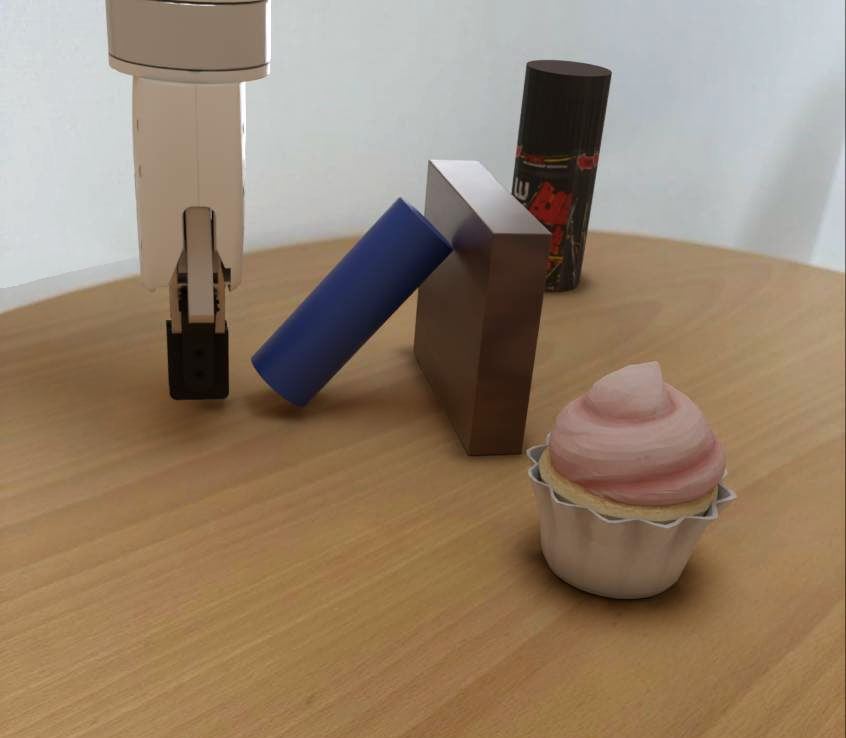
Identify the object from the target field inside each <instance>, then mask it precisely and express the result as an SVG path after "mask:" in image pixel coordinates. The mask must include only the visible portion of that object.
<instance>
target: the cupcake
mask: <svg viewBox="0 0 846 738" xmlns="http://www.w3.org/2000/svg"><path fill="white" fill-rule="evenodd" d="M709 425H710V424H709V422H708V420H707V419H706V417H705V415H704V413H703V411H702V409H701V408H699V406H698V405H697V404H696V403H695V402H694V401H693V400H692V399H691V398H690V397H688V396H687V395H685V394H684V393H683V392H681V391H679V390H678V389H677V388H675V387H673V386H672V385H671V384H669V383H667V382H666V381H664V376H663V373H662V369H661V366H660V364H659V361H658V360H657V361H656V360H654V361H649V362H643V363H638V364H632V363H631V364H628V365H626V366H624V367H621V368H619V369H617V370H615V371H613V372H610V373H608V374H606V375H605V376H603V377H601V378H599V379H598V380H597V381H595V382H594V383H593V384H592V386H591V387H590V389H589V391H587V393H585V394H583V395H581V396H579V397H577V398H575V399H574V400H572V401H570V402H569V403H567V404H566V405H565V406H564V407H563V408H562V409H561V411H560V412H559V413H558V414H557V416H556V418H555V420H554V423H553V426H552V429H551V431H550V432H549V433H548V434H547V435H546V439H545V440H546V443H545V444H539V445H534V446H532V447H530V448H528V449H526V456H527V459H528V462H529V465H530V467H529V468H528V469H527V472H528V477H529V481H530V484H531V488H532V491H533V494H534V497H535V500H536V503H537V507H538V523H539V533H540V543H541V544H540V545H541V551H542V553H543V556H544V558H545V560H546V563H547V565H548V567H549V568H550V570H551V571H552V572H553V574H554V575H556V576H557V577H559V578H560V580H563V581H564V582H566V583H567V584H569V585H571V586H573V587H574V588H576V589H578V590H580V591H583V592H586V593H588V594H589V593H590V594H593V595H596V596H600V597H605V598H610V599H615V600H616V599H618V600H619V599H620V600H635V599H643V598H650V597H653V596H656V595H659V594H661V593H663V592H665V591H667V590H668V589H669V588H671V587H672V586H673V585H675V583H677V582H678V580H679V578H680V576H682V573H683V571H684V570H685V568H686V565H687V563H688V561H689V560H690V558H691V556H692V554H693V552H694V551H695V549H696V547H697V546H698V544H699V542H700V540H701V539H702V537H703V535H704V534H705V532H706V530H707V529H708V528H709V527H710V526H711V525H712V524H713V523H714V522H715V521H716V520H717V518H718V517H719V516H720V515H721V514H722V513H723V512H724V511H725V510H726V509H727V507H729V506H730V505H731V504H732V503H733V502H734V501H735V500H736V499H737V498H738V496H737V494H736V493H735V491H733V490H732V489H731V488H730V487H728V486H727V485H726V484H725V483H723V482H724V480H725V479H726V477H727V475H728V474H729V473H728V470H729V469H727V468H726V464H727V463H726V462H727V459H726V451H725V447H724V445H723V443H722V441H721V439H720V438H719V436H718V435H717V433H716V432H715V431H714V430H713V429H712V428H711V427H710V426H709Z"/></svg>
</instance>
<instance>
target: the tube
mask: <svg viewBox="0 0 846 738" xmlns="http://www.w3.org/2000/svg"><path fill="white" fill-rule="evenodd" d="M453 250H454V249H453V247H452V246H451V245H450V243H449V242H448V241H447V240H446V239H445V238H444V237H443V235H442V234H441V233H440V232H439V231H438V230H437V229H436V228H435V227H434V226H433V225H432V224H431V223H430V222H429V221H428V220H427V219H426V218H425V217H424V214H423V213H421V212H420V211H419V210H418V209H417V208H416V207H415V206H414V205H412V203H411V202H410V201H408V200H407V199H406V198H405V197H403V196H402V195H400V196H399V197H398V198H396V199H395V201H393V203H392V204H391V205H390V206H389V207H388V209H387V210H385V212H384V213H383V214H381V216H380V217H379V218H378V219H377V220H376V221H375V223H374V224H373V225H372V226H370V228H369V229H368V230H367V231H366V232H365V234H363V235H362V237H360V239H359V240H358V241H357V242H356V243H355V244H354V246H352V247H351V248H350V250H349V251H348V252H347V253H346V254H345V255H344V256H343V257H342V258H341V260H340V261H339V262H337V264H336V265H335V266H334V267H333V268H332V269H331V270H330V271H329V272H328V273H327V275H325V276H324V278H323V279H322V280H321V281H320V282H319V283H318V284H317V285H316V286H315V288H314V289H313V290H312V291H311V292H310V293H309V294H308V295H307V296H306V297H305V298H304V300H303V301H301V303H300V304H299V305H298V306H297V307H296V308H295V309H294V310H293V311H292V312H291V314H290V315H289V316H288V317H287V318H286V319H285V320H284V321H283V322H282V323H281V325H280V326H279V327H278V328H276V330H275V331H274V332H273V333H272V334H271V335H270V336H269V337H268V338H267V340H266V341H265V342H264V343H263V344H262V345H261V346H260V347H259V348H258V350H256V351H255V352H254V354H253V355H252V356H251V358H250V362H251V364H252V367H253V368H254V370H255V371H256V373H257V374H258V375H259V376H260V378H261V379H262V380H263V381H264V382H265V383H266V384H267V385H268V386H269V388H271V389H272V390H273V391H274V392H275V393H276V394H277V395H279V396H280V397H281V398H283V399H284V400H285V401H286V402H288V403H289V404H291V405H293V406H295V407H297V408H301V409H303V408H305V407H306V406H307V405H308V404H309V403H310V402H311V401H312V400H313V399H314V398H315V397H316V396H317V395H318V394H319V393H320V391H322V389H324V387H325V386H327V384H328V383H329V382H330V381H331V380H332V379H333V378H334V377H335V376H336V375H337V374H338V373H339V371H341V370H342V369H343V367H344V366H346V365H347V363H348V362H349V361H350V360H351V359H353V357H354V356H355V355H356V354H357V353H358V351H360V350H361V348H363V346H364V345H365V344H367V342H369V340H370V339H371V338H372V337H373V336H374V335H375V334H376V333H377V331H379V330H380V329H381V328H382V326H383V325H385V323H386V322H387V321H388V320H389V319H390V318H391V317H392V316H393V315H394V314H395V313H396V312H397V311H398V310H399V308H401V306H402V305H403V304H405V302H406V301H407V300H408V299H409V298H410V297H411V296H412V295H413V294H414V293H415V292H416V291H417V290H418V287H419V286H420V285H421V284H422V283H423V282H424V281H425V280H426V279H427V278H428V277H429V276H430V275H431V274H432V273H433V272H434V270H435V269H436V268H437V267H438V266H439V265H440V264H441V263H442V262H443V261H444V260H445V259H446V258H447V257H448V256H449V255H450V254H451V253H452V252H453Z"/></svg>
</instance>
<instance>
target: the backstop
mask: <svg viewBox="0 0 846 738" xmlns="http://www.w3.org/2000/svg"><path fill="white" fill-rule="evenodd" d="M426 173H427V174H426V186H425V198H424V199H425V200H424V209H423V210H424V211H423V216H424V217H425V218H426V219H427V220H428V221H429V222H430V223H431V224H432V225H433V226H434V227H435V228H436V229H437V230H438V231H439V232H440V233H441V234H442V235H443V237H444V238H445V239H446V240H447V241H448V242H449V243H450V245H451V246H452V247H453V249H454V250H453V252H452V253H451V254H450V255H449V256H448V257H447V258H446V259H445V260H444V261H443V262H442V263H441V264H440V265H439V266H438V267H437V268H436V269H435V270H434V272H433V273H432V274H431V275H430V276H429V277H428V278H427V279H426V280H425V281H424V282H423V283H422V284H421V285H420V286H419V287H418V288H417V299H416V309H415V312H416V313H415V322H414V323H415V324H414V325H415V326H414V337H413V347H412V348H413V349H412V353H413V355H414V357H415V358H416V360H417V362H418V364H419V366H420V368H421V370H422V371H423V374H424V376H425V377H426V379H427V381H428V383H429V384H430V386H431V388H432V390H433V392H434V394H435V396H436V397H437V399H438V401H439V403H440V404H441V407H442V408H443V410H444V413H445V414H446V415H447V417H448V419H449V421H450V423H451V425H452V426H453V428H454V431H455V432H456V434H457V436H458V438H459V440H460V441H461V443H462V445H463V447H464V449H465V450H466V453H467V454H468V456H478V455H479V456H486V455H487V456H488V455H513V454H514V455H515V454H518V455H519V454H522V453H523V449H524V448H523V447H524V439H525V433H526V427H527V417H528V412H529V411H528V410H529V404H530V397H531V389H532V381H533V376H534V370H535V369H534V368H535V361H536V354H537V346H538V340H539V334H540V333H539V332H540V327H541V317H542V310H543V303H544V298H545V297H544V296H545V291H544V290H545V283H546V276H547V268H548V261H549V254H550V247H551V240H552V234H551V233H550V232H549V231H548V230H547V229H546V228H545V227H544V226H543V225H542V224H541V223H540V222H539V221H538V220H537V219H536V218H535V217H534V216H533V215H532V214H531V213H530V212H529V211H528V210H527V209H526V208H525V207H524V206H523V205H522V204H521V203H520V202H519V201H518V200H517V199H516V198H515V197H514V196H513V195H512V194H511V192H510V191H509V190H508V189H507V188H506V187H505V186H504V185H503V184H502V183H501V182H500V181H499V180H498V179H497V178H496V177H495V176H494V175H493V174H492V173H491V172H489V170H488V169H487V168H485V166H484V165H483V164H482V163H480V161H478V160H466V159H465V160H463V159H428V161H427V172H426Z"/></svg>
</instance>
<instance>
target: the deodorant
mask: <svg viewBox="0 0 846 738" xmlns="http://www.w3.org/2000/svg"><path fill="white" fill-rule="evenodd" d="M612 75H613V72H612V70H611V69H609V68H607V67H603V66H601V65H597V64H591V63H587V62H586V63H585V62H580V61H573V60H560V59H536V60H530V61H528V62H526V65H525V72H524V81H523V89H522V90H523V91H522V98H521V108H520V115H519V124H518V131H517V140H516V149H515V150H516V151H515V158H514V165H513V166H514V167H513V174H512V175H513V176H512V184H511V192H510V193H511V194H512V195H513V196H514V197H515V198H516V199H517V200H518V201H519V202H520V203H521V204H522V205H523V206H524V207H525V208H526V209H527V210H528V211H529V212H530V213H531V214H532V215H533V216H534V217H535V218H536V219H537V220H538V221H539V222H540V223H541V224H542V225H543V226H544V227H545V228H546V229H547V230H548V231H549V232H550V233H551V234H552V240H551V247H550V254H549V261H548V268H547V276H546V283H545V290H544V292H549V293H550V292H551V293H553V292H554V293H558V292H559V293H560V292H567V291H571V290H574V289H576V288H577V287H579V285H580V282H581V276H582V270H583V263H584V257H585V250H586V243H587V237H588V230H589V224H590V219H591V213H592V212H591V211H592V207H593V206H592V205H593V199H594V192H595V185H596V178H597V174H598V173H597V172H598V167H599V161H600V154H601V147H602V140H603V134H604V127H605V120H606V115H607V108H608V101H609V96H610V89H611V83H612V82H611V81H612Z"/></svg>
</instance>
